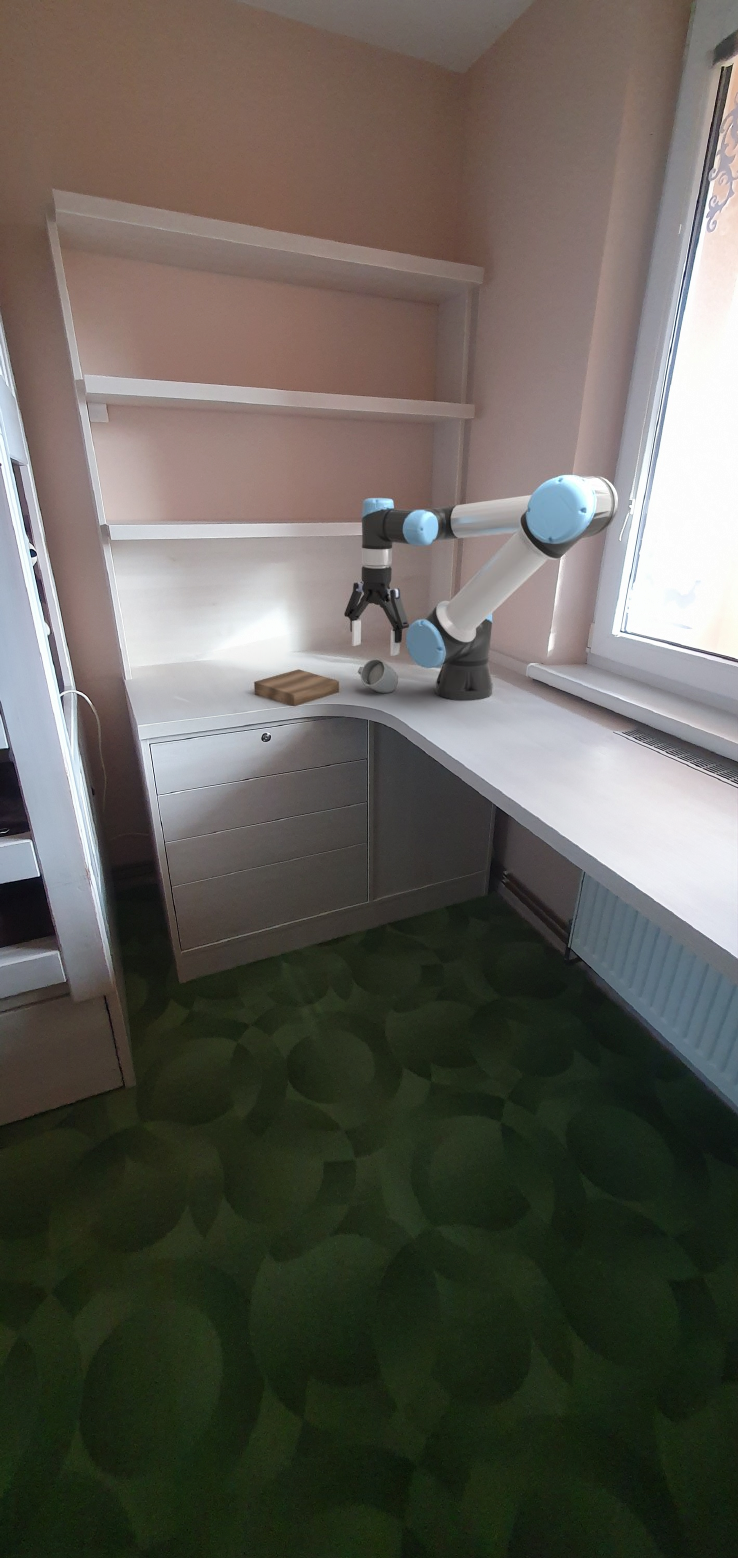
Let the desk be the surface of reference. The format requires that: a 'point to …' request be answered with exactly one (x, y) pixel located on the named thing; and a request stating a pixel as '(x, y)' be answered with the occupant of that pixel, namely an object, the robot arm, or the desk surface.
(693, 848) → the desk surface
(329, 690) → the walnut block
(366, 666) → the ceramic mug
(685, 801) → the desk surface
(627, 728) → the desk surface
